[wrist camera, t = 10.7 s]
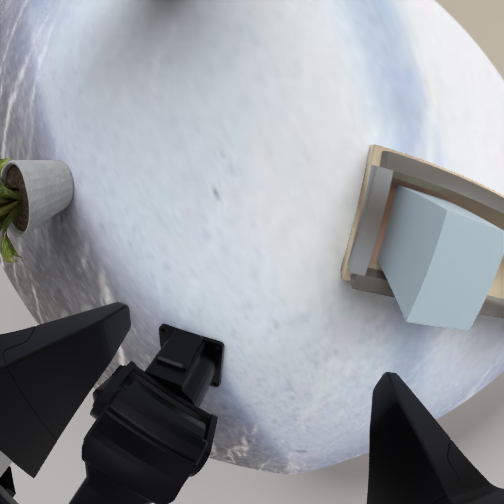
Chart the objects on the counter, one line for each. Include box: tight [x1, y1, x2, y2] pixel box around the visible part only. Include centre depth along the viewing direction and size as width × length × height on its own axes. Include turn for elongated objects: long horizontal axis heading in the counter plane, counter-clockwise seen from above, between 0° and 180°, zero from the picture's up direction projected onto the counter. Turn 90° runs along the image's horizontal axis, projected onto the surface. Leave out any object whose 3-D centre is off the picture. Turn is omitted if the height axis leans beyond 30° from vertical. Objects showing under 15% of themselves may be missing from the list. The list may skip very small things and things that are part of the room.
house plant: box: [0, 157, 74, 262], centre depth 14 cm, size 14×14×16 cm
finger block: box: [377, 185, 504, 331], centre depth 12 cm, size 5×4×7 cm
